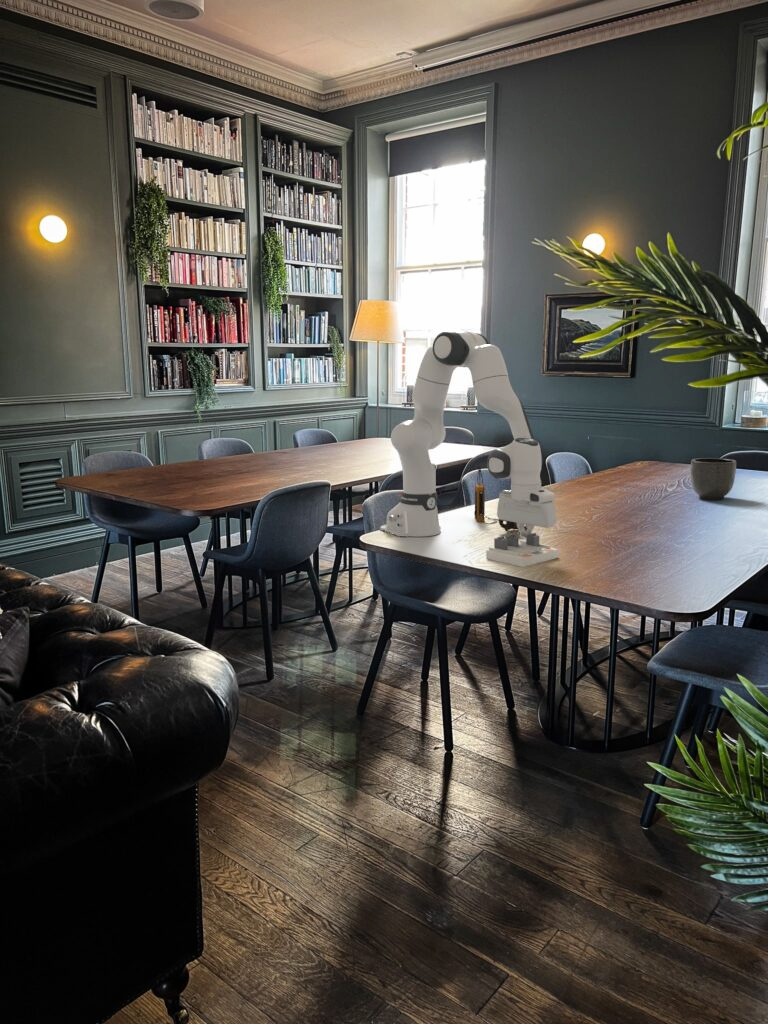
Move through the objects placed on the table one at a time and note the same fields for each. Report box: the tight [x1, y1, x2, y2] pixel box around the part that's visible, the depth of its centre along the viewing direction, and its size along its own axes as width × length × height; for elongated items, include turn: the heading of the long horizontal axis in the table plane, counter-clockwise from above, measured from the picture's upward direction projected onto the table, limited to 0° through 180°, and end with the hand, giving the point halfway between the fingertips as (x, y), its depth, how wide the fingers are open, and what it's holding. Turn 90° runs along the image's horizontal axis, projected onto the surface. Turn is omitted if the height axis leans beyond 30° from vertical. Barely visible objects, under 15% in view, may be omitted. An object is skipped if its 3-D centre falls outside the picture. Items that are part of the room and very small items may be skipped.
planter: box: [690, 457, 737, 501], centre depth 318 cm, size 17×17×16 cm
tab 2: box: [525, 532, 540, 547], centre depth 230 cm, size 3×2×4 cm
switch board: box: [485, 539, 559, 568], centre depth 227 cm, size 14×16×3 cm
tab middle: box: [505, 532, 520, 547], centre depth 229 cm, size 3×2×4 cm
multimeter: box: [473, 465, 499, 525], centre depth 281 cm, size 15×10×20 cm
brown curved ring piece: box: [498, 518, 527, 535], centre depth 260 cm, size 12×10×8 cm
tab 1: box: [493, 535, 508, 550], centre depth 226 cm, size 3×2×4 cm
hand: (525, 537), depth 232 cm, fingers closed
